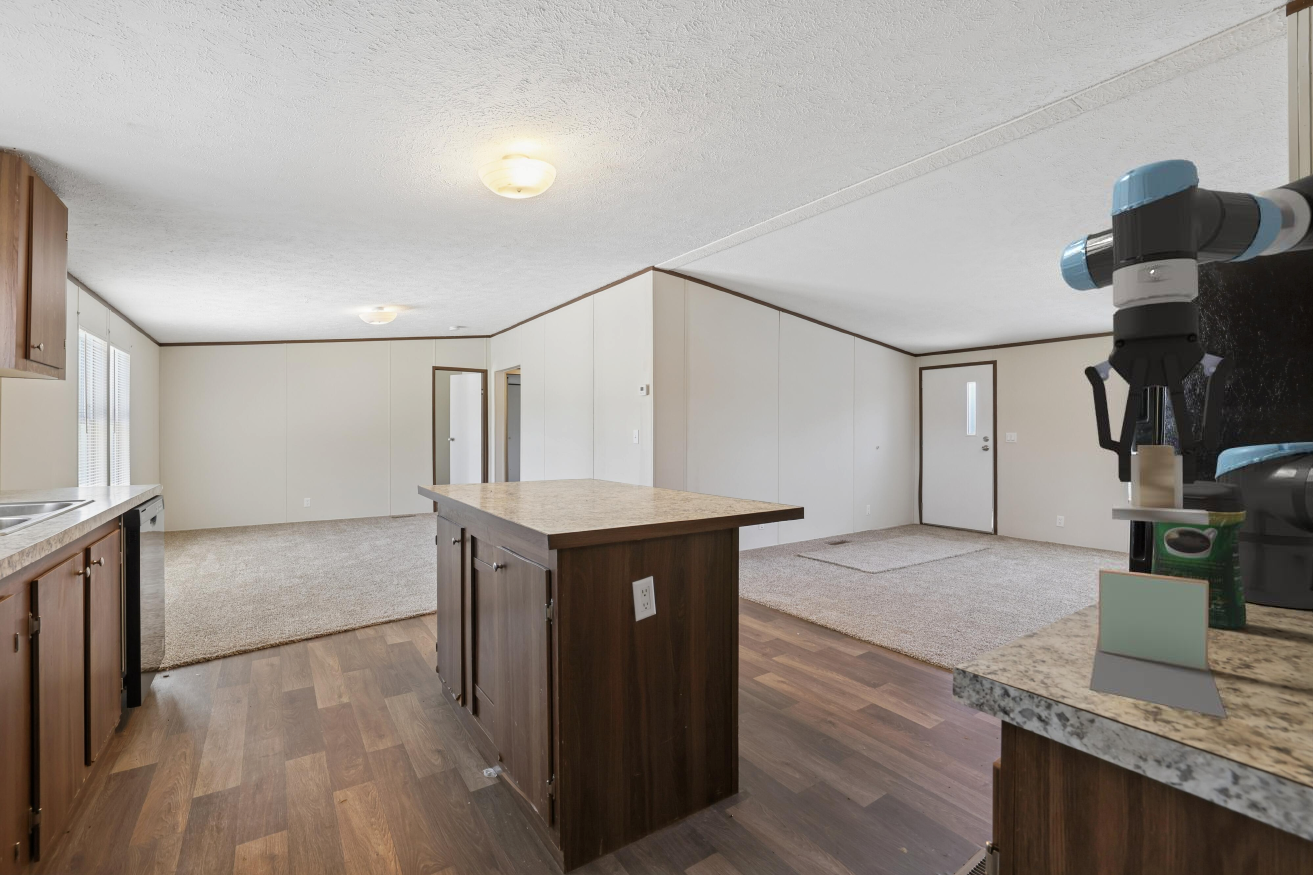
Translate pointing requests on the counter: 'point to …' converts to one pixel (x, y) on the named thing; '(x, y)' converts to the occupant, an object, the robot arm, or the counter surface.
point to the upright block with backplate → (1158, 491)
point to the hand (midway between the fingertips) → (1155, 511)
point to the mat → (1156, 683)
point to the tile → (1154, 618)
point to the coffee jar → (1207, 550)
